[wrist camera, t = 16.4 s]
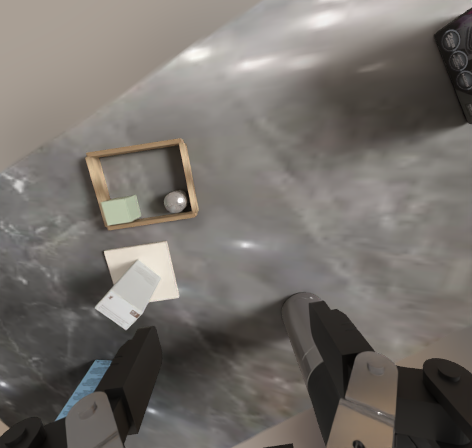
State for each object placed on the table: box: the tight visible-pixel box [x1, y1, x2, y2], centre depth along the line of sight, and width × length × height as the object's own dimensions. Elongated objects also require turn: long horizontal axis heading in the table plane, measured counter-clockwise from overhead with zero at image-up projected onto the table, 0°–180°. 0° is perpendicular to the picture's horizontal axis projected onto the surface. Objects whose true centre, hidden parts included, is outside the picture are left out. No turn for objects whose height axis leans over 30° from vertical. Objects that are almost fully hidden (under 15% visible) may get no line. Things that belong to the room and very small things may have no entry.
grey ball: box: [164, 190, 189, 213], centre depth 43 cm, size 4×4×4 cm
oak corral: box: [86, 138, 199, 230], centre depth 42 cm, size 13×16×3 cm
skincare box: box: [95, 260, 161, 330], centre depth 41 cm, size 6×4×12 cm
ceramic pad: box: [104, 241, 179, 302], centre depth 48 cm, size 12×12×1 cm
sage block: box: [101, 195, 141, 225], centre depth 42 cm, size 4×4×5 cm
